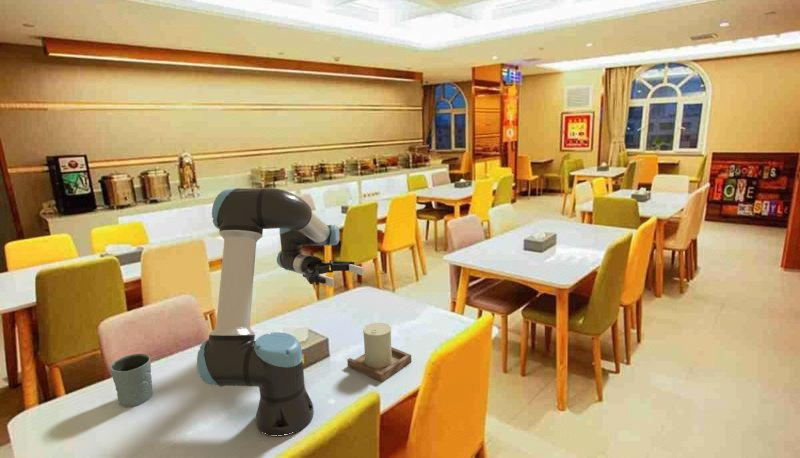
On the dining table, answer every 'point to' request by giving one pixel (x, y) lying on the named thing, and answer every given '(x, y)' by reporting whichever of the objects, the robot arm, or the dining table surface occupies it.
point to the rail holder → (382, 373)
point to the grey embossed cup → (132, 379)
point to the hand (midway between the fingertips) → (348, 276)
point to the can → (377, 345)
